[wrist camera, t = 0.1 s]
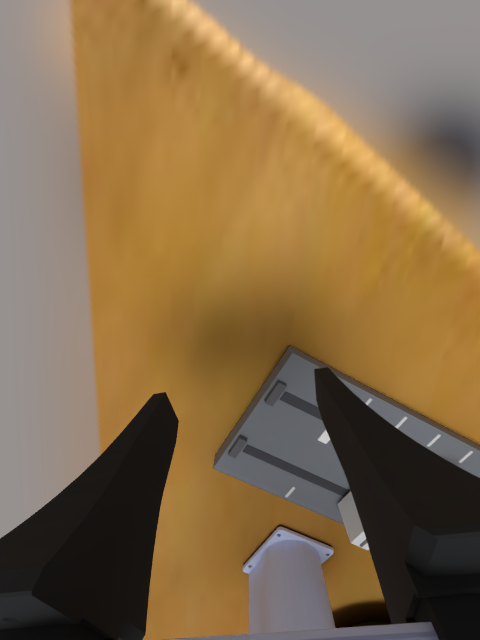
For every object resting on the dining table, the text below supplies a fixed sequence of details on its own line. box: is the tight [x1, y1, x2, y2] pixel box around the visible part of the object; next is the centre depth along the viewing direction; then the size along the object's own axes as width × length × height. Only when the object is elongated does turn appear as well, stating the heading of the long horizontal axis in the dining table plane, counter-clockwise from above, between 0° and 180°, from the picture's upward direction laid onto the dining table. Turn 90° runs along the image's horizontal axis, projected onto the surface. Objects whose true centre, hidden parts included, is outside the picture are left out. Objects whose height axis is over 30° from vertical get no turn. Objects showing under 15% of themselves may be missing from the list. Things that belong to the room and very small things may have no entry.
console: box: [213, 346, 480, 524], centre depth 26 cm, size 15×25×2 cm, turn 61°
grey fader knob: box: [338, 491, 369, 550], centre depth 24 cm, size 3×2×4 cm, turn 151°
